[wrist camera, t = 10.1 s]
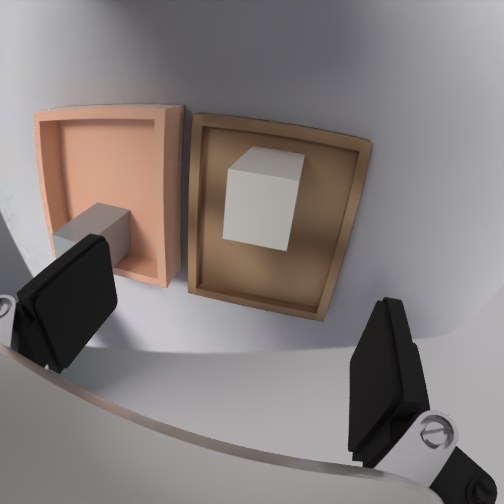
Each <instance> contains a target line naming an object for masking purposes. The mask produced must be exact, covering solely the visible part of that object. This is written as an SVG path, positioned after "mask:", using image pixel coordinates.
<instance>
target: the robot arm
mask: <svg viewBox="0 0 504 504" xmlns="http://www.w3.org/2000/svg"><path fill="white" fill-rule="evenodd" d="M17 296H18V299H19V301H18V302H17V303H16V301H15V300H14V298H13V297H11V296H9V295H0V504H495V501H496V497H497V487H496V484H495V482H494V480H493V479H492V477H491V476H490V475H489V474H487V473H486V472H485V471H484V470H483V469H482V468H481V467H479V466H478V465H477V464H476V463H475V462H474V461H473V460H472V459H470V458H469V457H468V456H467V455H466V454H465V453H464V452H462V450H460V449H459V448H458V447H457V446H456V444H457V441H458V430H457V426H456V424H455V423H454V421H453V420H452V419H451V418H450V417H449V416H448V415H447V414H445V413H443V412H441V411H437V410H430V405H429V399H428V394H427V389H426V383H425V379H424V374H423V369H422V364H421V360H420V355H419V351H418V348H417V345H416V344H415V343H413V342H412V337H411V333H410V329H409V325H408V321H407V317H406V314H405V310H404V306H403V303H402V301H401V300H398V299H393V298H388V297H385V298H384V299H383V300H382V301H379V300H378V301H377V302H376V305H375V307H374V309H373V312H372V314H371V316H370V318H369V321H368V323H367V325H366V328H365V330H364V332H363V334H362V336H361V338H360V341H359V343H358V345H357V347H356V349H355V351H354V353H353V355H352V358H351V361H350V404H349V405H350V406H349V437H348V438H349V439H348V451H349V452H353V457H352V461H361V462H363V467H357V466H350V465H343V464H336V463H328V462H320V461H313V460H307V459H301V458H295V457H290V456H284V455H280V454H274V453H269V452H264V451H259V450H255V449H250V448H246V447H242V446H237V445H234V444H230V443H226V442H222V441H219V440H215V439H211V438H208V437H204V436H201V435H198V434H195V433H192V432H188V431H185V430H182V429H179V428H176V427H173V426H170V425H167V424H165V423H162V422H159V421H156V420H154V419H151V418H148V417H145V416H143V415H140V414H138V413H135V412H133V411H131V410H128V409H126V408H123V407H121V406H119V405H116V404H114V403H112V402H109V401H107V400H105V399H103V398H101V397H99V396H96V395H94V394H92V393H90V392H88V391H86V390H84V389H82V388H80V387H78V386H76V385H74V384H72V383H70V382H68V381H66V380H64V379H62V378H61V377H59V376H57V375H55V374H53V373H51V372H50V371H48V370H46V369H45V367H46V365H48V367H49V369H51V370H53V371H55V372H56V373H58V374H60V373H61V372H62V370H63V369H64V368H67V367H68V366H70V364H71V363H72V362H73V360H74V359H75V357H76V356H77V355H78V354H79V353H80V351H81V350H82V349H83V348H84V346H85V345H86V344H87V343H88V341H89V340H90V339H91V338H92V336H93V335H94V334H95V333H96V331H97V330H98V329H99V328H100V326H101V325H102V324H103V323H104V322H105V320H106V319H107V318H108V317H109V316H110V314H111V313H112V312H113V311H114V310H115V308H116V306H117V301H118V300H117V294H116V288H115V282H114V276H113V269H112V262H111V255H110V247H109V243H108V242H107V241H106V239H105V237H104V236H100V235H96V234H88V235H87V236H86V237H84V238H83V239H82V240H80V241H79V242H78V243H76V244H75V245H74V246H73V247H71V248H70V249H69V250H67V251H66V252H65V253H64V254H62V255H61V256H60V257H59V258H57V259H56V260H55V261H54V262H52V263H51V264H50V265H49V266H48V267H46V268H45V269H44V270H43V271H42V272H40V273H39V274H38V275H37V276H36V277H34V278H33V279H32V280H31V281H30V282H29V283H28V284H26V285H25V286H24V287H23V288H22V289H21V290H19V291H18V292H17Z"/></svg>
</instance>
